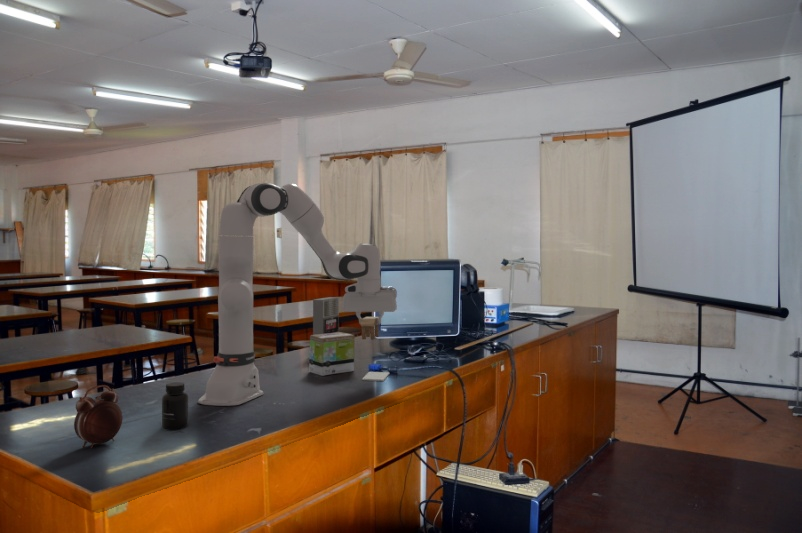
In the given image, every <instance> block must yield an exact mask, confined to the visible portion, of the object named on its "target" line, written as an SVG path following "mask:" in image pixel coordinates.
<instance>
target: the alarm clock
mask: <svg viewBox="0 0 802 533" xmlns="http://www.w3.org/2000/svg"><path fill="white" fill-rule="evenodd" d="M102 387H103V388H106V389H107V390H106V391H104V392H102V393H101V394H100V395H99V396H95V399H94V398H93V397H90V396H88V394H89V392H90V391H92V390H95V389H98V388H102ZM118 401H119V396H118V394H117V393H116V392H115V390H114V388H111V387H110V386H108V384H107V385H106V384H101V385H95V386H93V387H91V388H89V389H87V390H86V391H85V394H84V396H83V397H82V396H80V397H79V400H77V402H75V403H76V404H75V410H76V414H75V416H74V421H73V422H74V423H73V427H74V428H73V429H74V431H75V434H76V436H77V437H78V438H79V439H81V440H82V441H84V443H83V446H82V448H83V449H85V447H86V445H87V444H88V443H89V444H91V446H90V449H93V446H94V445H95V444H96V445H102V444H105V443H108V442H109V441H111V440H112V442H115V441H116V439H114V438H115V436H116V435H117V434H118V433H119V431H120V429H121V427H122V423H123V411H122V410H121V409H122V408H120V406H119V405H118V404H117V403H118Z"/></svg>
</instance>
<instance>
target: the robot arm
mask: <svg viewBox="0 0 802 533" xmlns="http://www.w3.org/2000/svg"><path fill="white" fill-rule="evenodd" d="M278 213H280V214H281V215H283V216H284V217H285V219H286V220H287V221H288V223H290V225H291V226H293V228H294V229H295V231H296V232H298V233H299V234H300V235H301V236H302V238H303V239H304V240H305V242H306V243H307V244H308V245H309V247H310V248H311V249H312V251H314V253H315V255H316V256H317V258H319V260H320V261H321V264H322V268H323V271H324V273H325V274H326V275H327V277H328V278H330V279H333V280H349V281H350V280H354V279H356V280H357V282H355V283H352V284H350V285H347V286H346V287H345V288H344V291H345V293H344V295H343V298H342V310H343V311H344V312H346V313H353V312H354V313H355V316H356V317H357V319H358V323H359V325H361V319H363V317H361V314H362V313H366V312H367V313H372V312H373V313H378V315H379V316H378V317H379V319H376V321H377V322H376V324H378V325H381V324H382V318H383V316H384V313H393V312H395V311H396V310H397V306H398V305H397V297H398V291H397V289H396V288H394V287H393V286H382V276H381V273H380V272H381V254H380V250H379V247H378V246H377V245H375V244H373V243H372V244H370V243H359V244H358V245H357V246H356V247H355V248H352V250H349V251H348V252H345V253H344V252H343V253H342V252H339V251H337V250H336V249H334V247H333V246H332V245H331V243H330V242H329V240H328V239H327V238H326V237H325V235H324V234H323V231H322V228H323V226H324V223H325V217H324V214H323V213H322V211H321V209H320V208H319V206H317V204H316V203H315V201H314V200H313V199H312V198H311V197H310V196H309V195H308V194H307V193H306V192H305V191H304V190H303V189H302V188H301V187H299V186H298V185H297V184H295V183H287V184H284V185H282V186H281V187H280V186H278V185H275V184H273V183H268V182H265V183H264V182H263V183H255V184H253V185H250V186H247V187H246V188H244V189H243V191H242V192H241V194H240V196H239V198H238V199H237V200H236V202H235V201H234V202H230V203H227V204H226V205H224V206H223V208H222V210H221V213H220V214H221V215H220V219H219V220H220V221H219V229H218V292H217V294H218V295H217V298H218V299H217V303H218V304H217V306H218V310H217V311H218V353H217V355H216V356H213V359H212V362H213V363H215V364H216V366H215V367H214V370H213V371H212V372H211V375H210V376H209V379H208V380H207V381H206V383H205V384H206V386H205V393H204V394H203V395H201V397H200V398H199V399H198V401H197V403H198V404H201V405H206V406H223V407H225V406H227V407H228V406H229V407H230V406H239V405H241V404H245V403H247V402H249V401H251V400H253V399H256V398H258V397H261V396H263V395H264V391H263V390H261V387H260V376H259V369H258V368H257V366H256V365H255V356H256V354H255V350H254V290H253V281H254V279H253V276H254V226H255V222H256V220H257V218H258V217H261V218H262V217H263V218H264V217H269V216H272V215H273V216H274V215H275V214H278Z"/></svg>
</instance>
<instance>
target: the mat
mask: <svg viewBox="0 0 802 533" xmlns="http://www.w3.org/2000/svg"><path fill="white" fill-rule="evenodd" d="M389 376H390V372H385V371H384V372H382V371H368V372H367V373H366V374H365V375H364V377H362V381H370V382H371V381H372V382H384V381H385V380H386V379H387V378H388V377H389Z"/></svg>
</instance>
